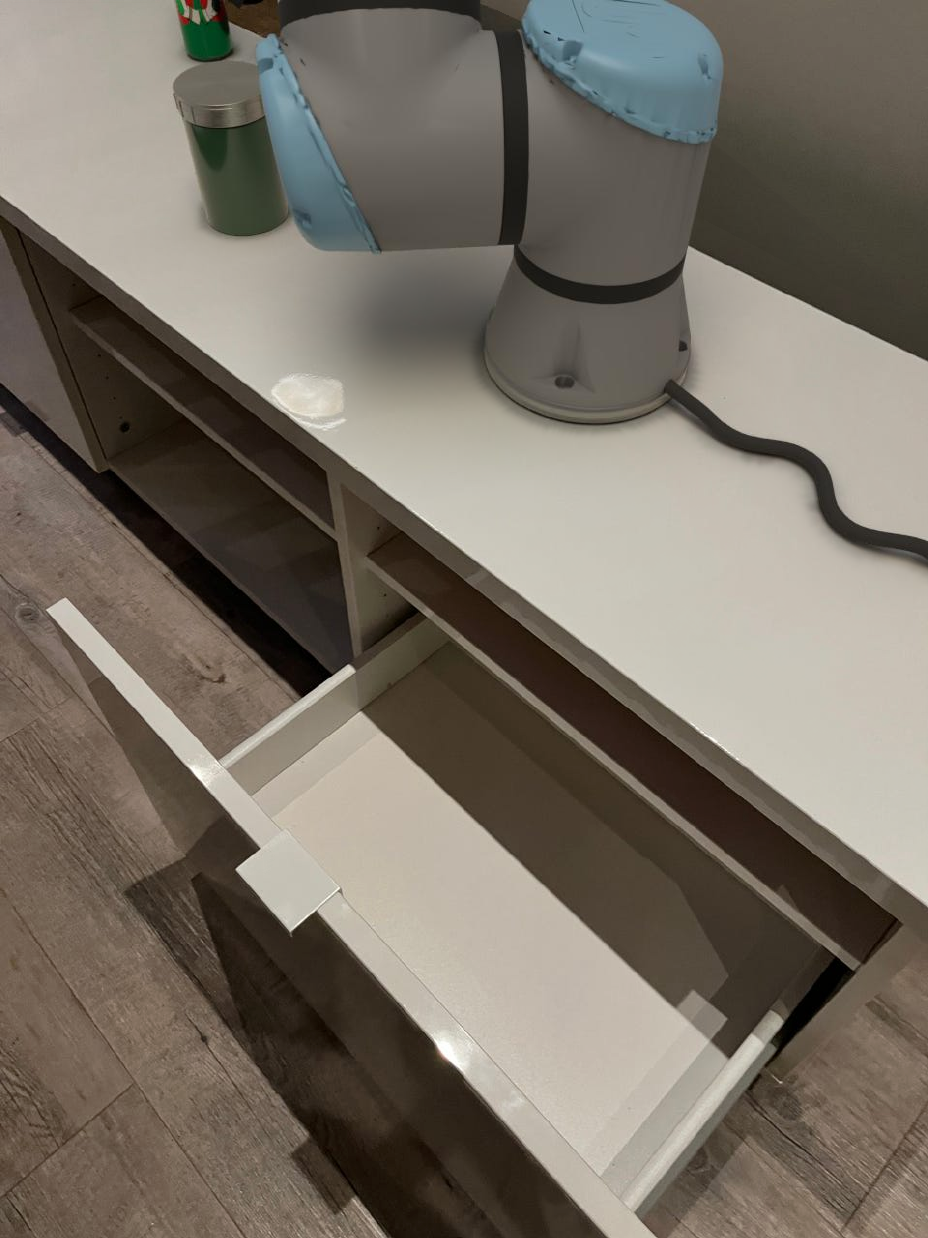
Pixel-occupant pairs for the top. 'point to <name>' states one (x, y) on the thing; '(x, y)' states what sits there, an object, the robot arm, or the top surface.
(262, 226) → the jar
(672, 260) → the robot arm
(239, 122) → the lid
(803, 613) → the top surface
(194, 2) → the soda can
